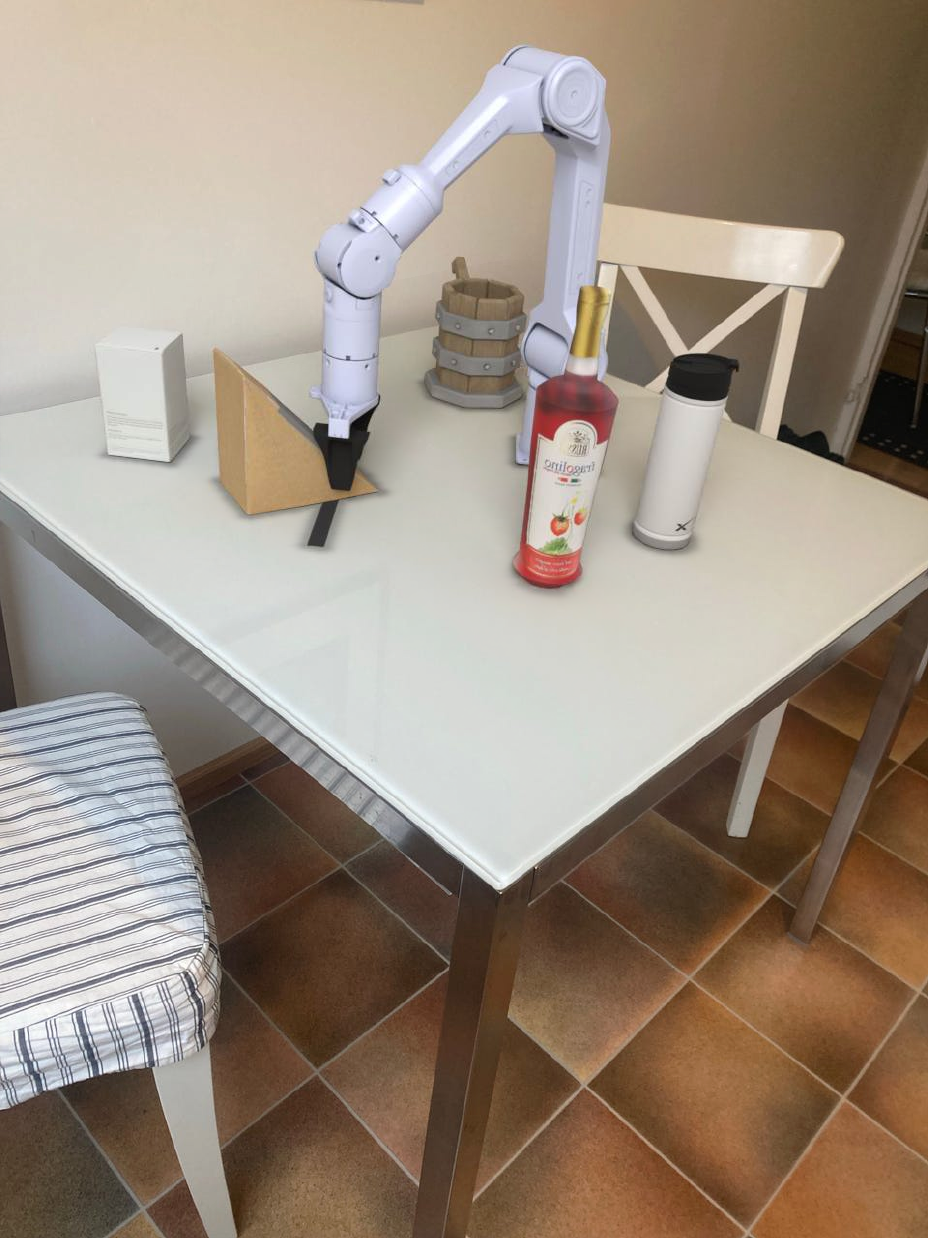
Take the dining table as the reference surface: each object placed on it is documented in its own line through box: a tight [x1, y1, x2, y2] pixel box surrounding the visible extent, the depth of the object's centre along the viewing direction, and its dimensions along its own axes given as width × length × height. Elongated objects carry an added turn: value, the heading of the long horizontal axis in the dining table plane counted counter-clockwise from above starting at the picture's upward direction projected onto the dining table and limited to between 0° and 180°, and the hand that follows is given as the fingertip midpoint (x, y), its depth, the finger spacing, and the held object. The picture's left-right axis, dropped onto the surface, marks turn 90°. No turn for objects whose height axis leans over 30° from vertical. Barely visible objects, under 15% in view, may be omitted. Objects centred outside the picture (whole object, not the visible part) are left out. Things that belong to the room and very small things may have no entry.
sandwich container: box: [212, 347, 379, 516], centre depth 104 cm, size 9×15×15 cm, turn 122°
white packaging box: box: [93, 324, 191, 463], centre depth 109 cm, size 7×7×13 cm
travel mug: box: [631, 352, 740, 551], centre depth 101 cm, size 6×7×20 cm
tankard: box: [424, 256, 528, 409], centre depth 135 cm, size 20×13×15 cm, turn 13°
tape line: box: [307, 499, 340, 548], centre depth 108 cm, size 2×24×1 cm, turn 178°
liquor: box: [512, 285, 619, 589], centre depth 90 cm, size 7×7×28 cm
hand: (346, 472), depth 108 cm, fingers open, 7 cm apart
